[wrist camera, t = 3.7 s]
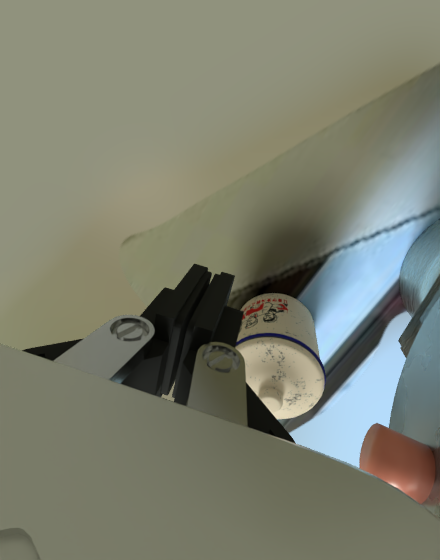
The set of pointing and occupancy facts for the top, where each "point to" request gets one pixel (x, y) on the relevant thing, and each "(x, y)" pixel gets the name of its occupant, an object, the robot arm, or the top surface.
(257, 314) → the teacup with lid
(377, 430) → the lid
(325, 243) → the top surface
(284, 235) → the top surface
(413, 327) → the cooker pot
